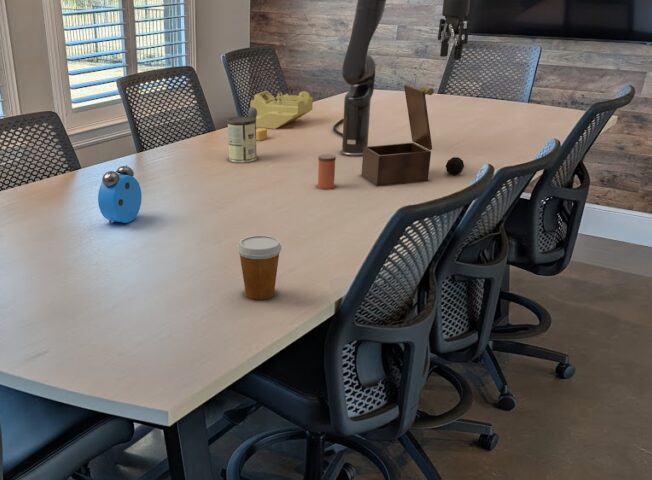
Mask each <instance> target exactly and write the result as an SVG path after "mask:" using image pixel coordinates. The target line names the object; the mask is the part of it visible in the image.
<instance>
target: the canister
mask: <svg viewBox="0 0 652 480" xmlns="http://www.w3.org/2000/svg"><path fill="white" fill-rule="evenodd" d="M317 157H318V158H317V160H318V164H317V165H318V167H317V168H318V169H317V188H318V189H321V190H332V189H334V188H335V180H336V179H335V177H336V176H335V175H336V160H337V156H336V155H334V154H326V153H325V154H320V155H318V156H317Z"/></svg>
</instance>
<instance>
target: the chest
mask: <svg viewBox="0 0 652 480" xmlns="http://www.w3.org/2000/svg"><path fill="white" fill-rule="evenodd" d="M431 156H432V150H429V149H427V148H425V147H423V146H421V145H419V144H417V143H415V142H403V143H401V142H400V143H392V144H391V143H390V144H381V145H380V144H379V145H371V146H369V145H368V147H363V155H362V161H361V162H362V163H361V177H363V178H365V180H367V181H369V182H370V183H371V184H373V185H375V186H376V187H380V186H390V185H402V184H411V183H422V182H423V183H424V182H429V175H430V165H431Z"/></svg>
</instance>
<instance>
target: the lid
mask: <svg viewBox="0 0 652 480" xmlns="http://www.w3.org/2000/svg"><path fill="white" fill-rule="evenodd" d="M403 88H404V95H405V103H406V110H407V114H408V121H409V122H408V123H409V129H410V136H411V141H412V143H415V144H417V145H419V146H421V147H423V148H425V149H427V150H429V151H432V150H433V144H432V136H431V129H430V128H431V127H430V120H429V114H428V106H427V99H426V95H428V96H432V95H433V94H434V93H435V89H433V88H432V87H429V86H427V85H422V86H421V88H418V87H415V86H412V85H409V84H404V85H403Z"/></svg>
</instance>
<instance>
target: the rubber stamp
mask: <svg viewBox="0 0 652 480" xmlns="http://www.w3.org/2000/svg"><path fill="white" fill-rule="evenodd" d="M248 116H249V117H254V118H256V116H257V110H256V108H254V107H251V106H250V108H248ZM266 139H268V128H262V127H256V142H257V141H258V142H259V141H263V140H266Z"/></svg>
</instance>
